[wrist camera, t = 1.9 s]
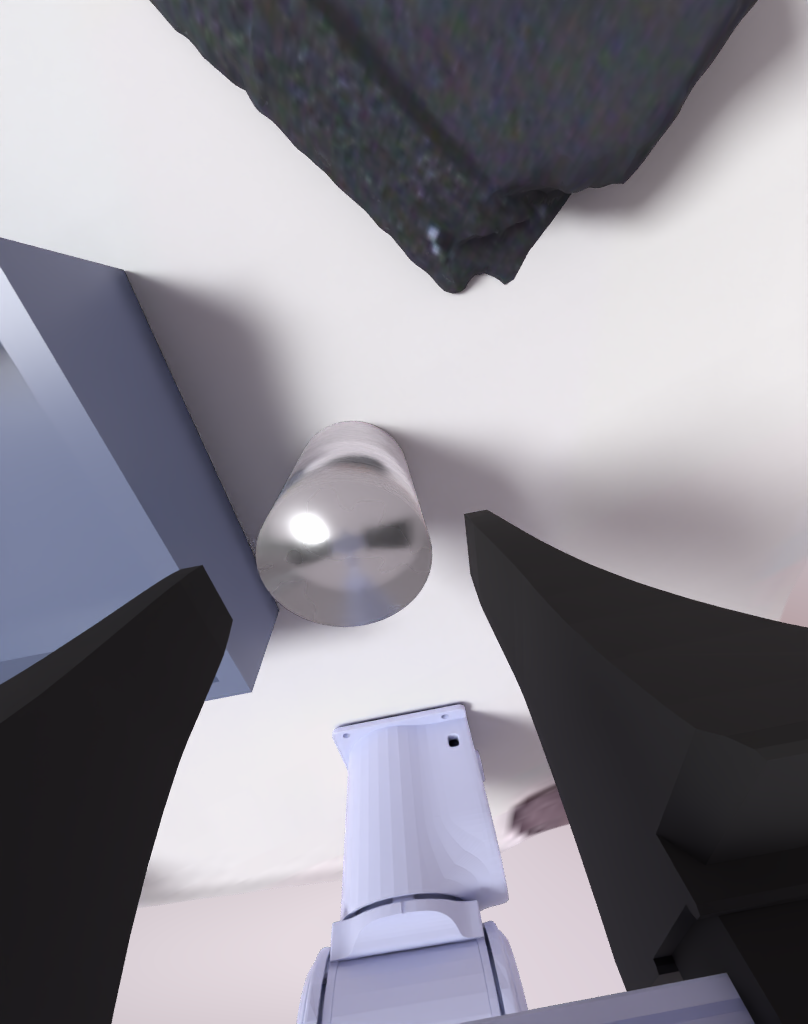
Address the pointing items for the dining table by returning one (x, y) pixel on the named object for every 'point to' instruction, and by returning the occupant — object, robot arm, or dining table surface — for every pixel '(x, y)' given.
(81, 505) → the slate blue tote
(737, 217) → the dining table surface
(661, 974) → the robot arm
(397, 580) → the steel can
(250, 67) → the dark slate chunk
